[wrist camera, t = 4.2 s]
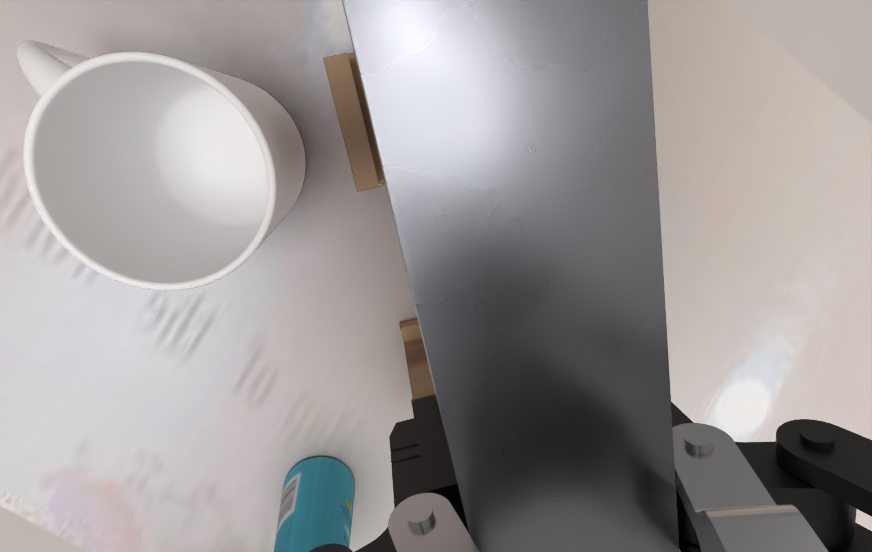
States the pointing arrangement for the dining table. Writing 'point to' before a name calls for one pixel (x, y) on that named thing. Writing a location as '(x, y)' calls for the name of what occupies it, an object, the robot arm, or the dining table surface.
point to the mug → (156, 164)
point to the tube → (315, 506)
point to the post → (354, 120)
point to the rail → (532, 258)
